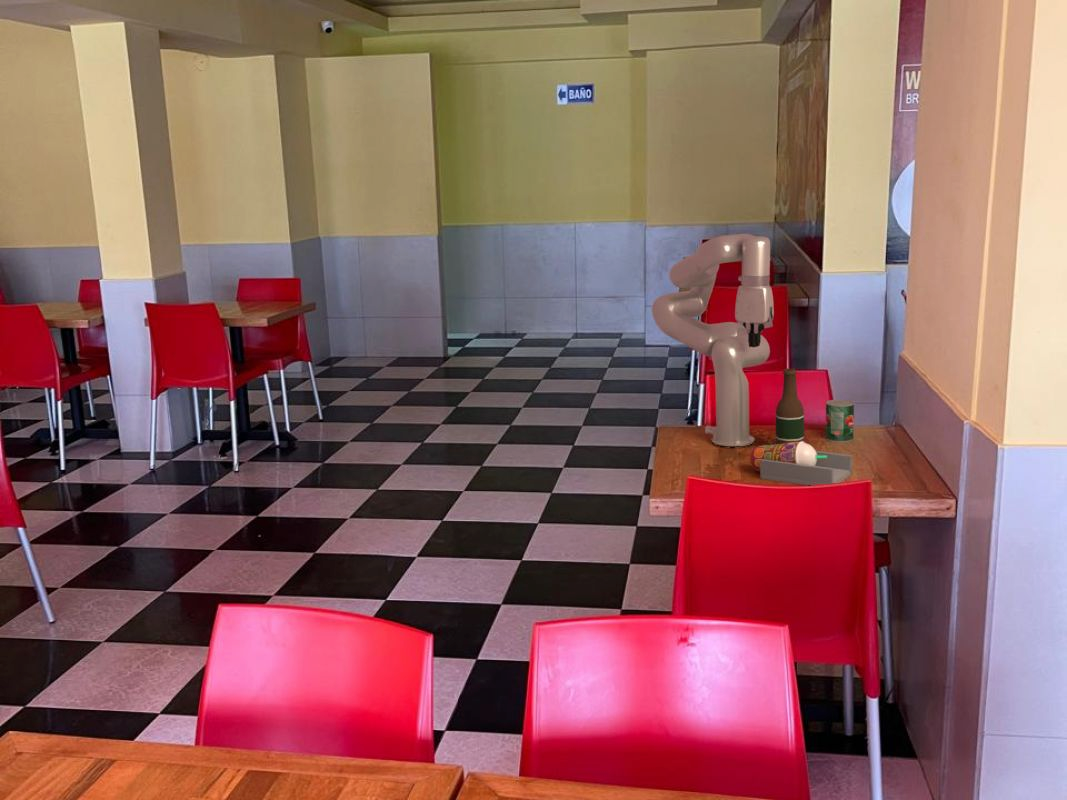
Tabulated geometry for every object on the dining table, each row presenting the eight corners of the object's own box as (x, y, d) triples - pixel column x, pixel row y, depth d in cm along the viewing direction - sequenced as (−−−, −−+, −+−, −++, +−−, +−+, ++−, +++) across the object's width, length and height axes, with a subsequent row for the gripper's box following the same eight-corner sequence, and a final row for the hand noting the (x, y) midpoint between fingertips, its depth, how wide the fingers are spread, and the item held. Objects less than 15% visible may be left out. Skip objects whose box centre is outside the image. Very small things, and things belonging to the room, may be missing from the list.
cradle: (760, 478, 263) (760, 460, 262) (782, 464, 274) (782, 446, 273) (831, 488, 252) (831, 469, 251) (851, 473, 263) (852, 455, 262)
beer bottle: (805, 449, 288) (805, 367, 282) (802, 457, 280) (803, 372, 275) (777, 448, 290) (777, 366, 285) (774, 455, 283) (774, 372, 278)
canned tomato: (857, 441, 293) (857, 404, 290) (829, 443, 293) (830, 406, 290) (848, 434, 300) (849, 398, 298) (822, 436, 301) (822, 400, 298)
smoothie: (750, 438, 268) (821, 435, 256) (763, 450, 274) (834, 448, 262) (745, 467, 265) (817, 465, 253) (759, 479, 271) (830, 478, 258)
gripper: (725, 281, 282) (724, 345, 287) (772, 285, 272) (770, 351, 277) (739, 278, 287) (738, 341, 292) (786, 281, 277) (784, 347, 282)
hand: (754, 346), depth 284 cm, fingers closed
